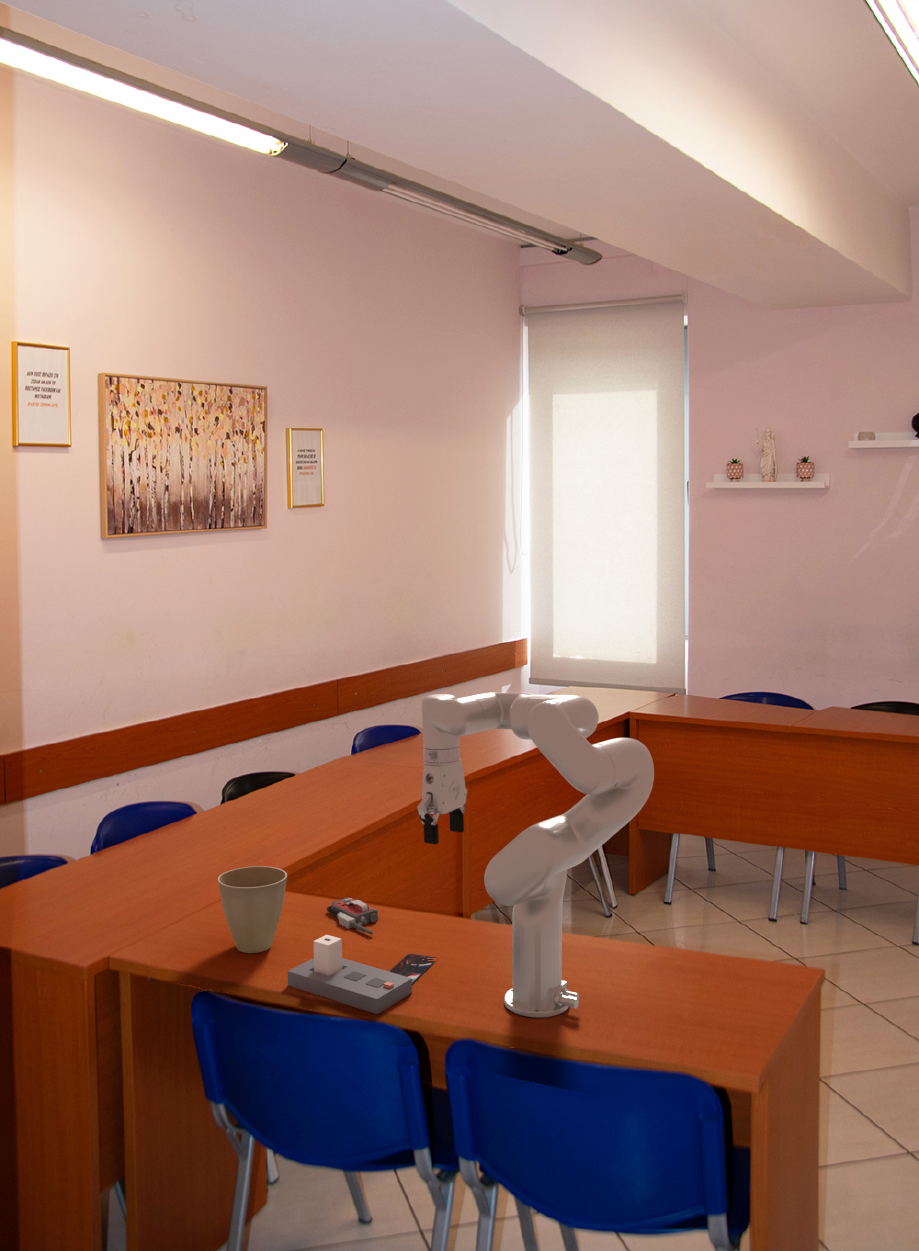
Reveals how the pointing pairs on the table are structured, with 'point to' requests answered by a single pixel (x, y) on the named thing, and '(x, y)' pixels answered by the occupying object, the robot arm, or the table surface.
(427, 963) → the smartphone
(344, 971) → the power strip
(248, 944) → the plant pot
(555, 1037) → the table surface
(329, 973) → the block
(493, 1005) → the table surface
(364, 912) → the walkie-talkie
